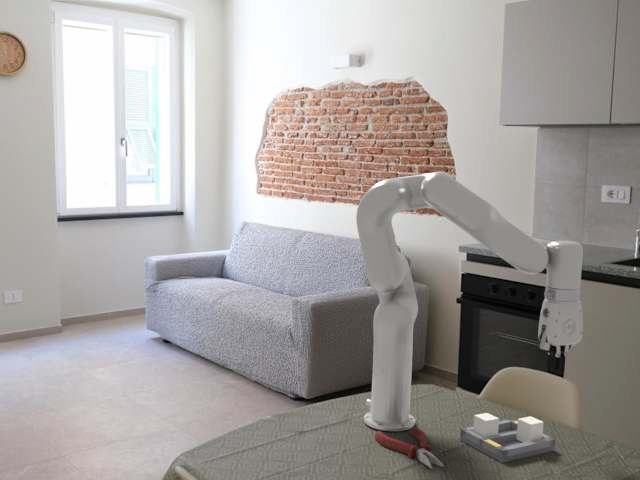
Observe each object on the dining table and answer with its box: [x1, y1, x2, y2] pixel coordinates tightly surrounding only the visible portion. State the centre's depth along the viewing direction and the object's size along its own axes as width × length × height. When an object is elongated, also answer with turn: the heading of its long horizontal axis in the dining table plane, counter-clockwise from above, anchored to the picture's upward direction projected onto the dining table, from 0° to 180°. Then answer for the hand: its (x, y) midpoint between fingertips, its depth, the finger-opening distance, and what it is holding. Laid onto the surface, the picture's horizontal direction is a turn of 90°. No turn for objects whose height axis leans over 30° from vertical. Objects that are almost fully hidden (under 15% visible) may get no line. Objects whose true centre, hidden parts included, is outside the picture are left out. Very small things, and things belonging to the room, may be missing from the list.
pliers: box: [374, 426, 445, 470], centre depth 166 cm, size 12×20×3 cm, turn 21°
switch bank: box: [459, 418, 556, 463], centre depth 172 cm, size 14×16×3 cm
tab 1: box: [472, 412, 500, 438], centre depth 172 cm, size 4×4×5 cm
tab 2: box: [517, 415, 545, 443], centre depth 171 cm, size 4×4×5 cm
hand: (556, 372), depth 173 cm, fingers closed
